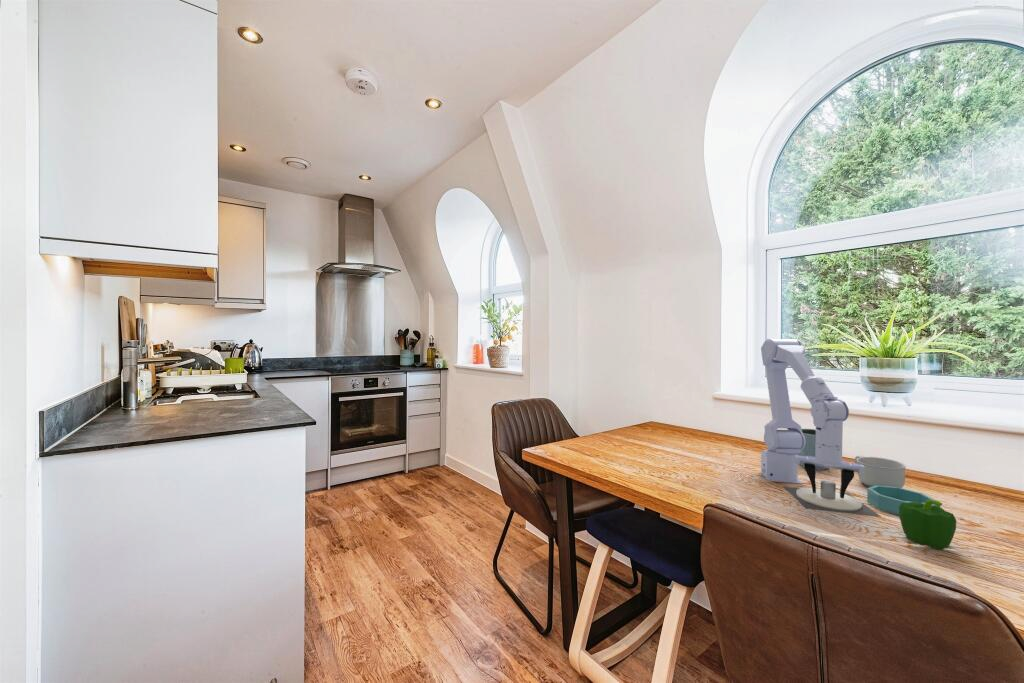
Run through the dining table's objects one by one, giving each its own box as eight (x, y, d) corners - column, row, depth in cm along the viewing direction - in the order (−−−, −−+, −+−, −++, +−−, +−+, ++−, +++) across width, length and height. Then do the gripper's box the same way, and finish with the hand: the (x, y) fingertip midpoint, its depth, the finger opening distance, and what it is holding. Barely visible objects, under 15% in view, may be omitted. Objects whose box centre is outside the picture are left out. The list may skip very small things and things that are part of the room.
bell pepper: (890, 531, 93) (891, 488, 93) (935, 537, 90) (936, 492, 90) (914, 550, 85) (915, 502, 85) (965, 556, 82) (966, 507, 82)
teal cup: (829, 464, 143) (830, 430, 143) (833, 472, 134) (834, 436, 134) (794, 460, 148) (795, 427, 148) (796, 467, 140) (796, 432, 140)
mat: (805, 510, 104) (805, 508, 104) (783, 488, 119) (783, 486, 119) (881, 518, 100) (881, 516, 100) (847, 494, 115) (847, 492, 115)
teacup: (915, 496, 114) (915, 468, 114) (870, 493, 116) (871, 465, 116) (881, 479, 128) (881, 454, 128) (842, 477, 130) (842, 452, 130)
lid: (808, 507, 105) (809, 488, 105) (788, 488, 118) (788, 471, 118) (874, 514, 101) (874, 495, 101) (845, 493, 114) (845, 476, 114)
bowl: (886, 516, 101) (886, 500, 101) (860, 498, 112) (860, 483, 112) (947, 522, 98) (947, 506, 98) (913, 503, 109) (913, 488, 109)
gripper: (795, 443, 110) (794, 492, 111) (865, 452, 102) (865, 506, 102) (796, 438, 116) (795, 485, 116) (862, 446, 108) (862, 497, 108)
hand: (827, 494), depth 110 cm, fingers open, 5 cm apart
